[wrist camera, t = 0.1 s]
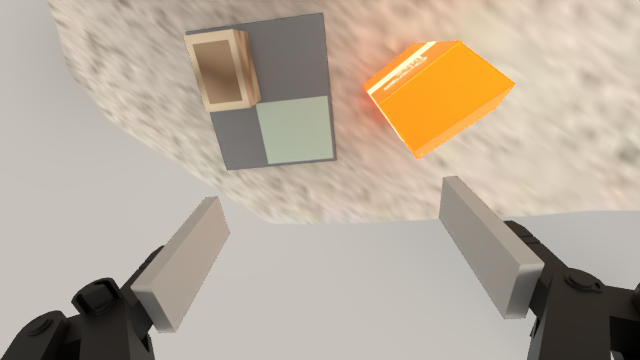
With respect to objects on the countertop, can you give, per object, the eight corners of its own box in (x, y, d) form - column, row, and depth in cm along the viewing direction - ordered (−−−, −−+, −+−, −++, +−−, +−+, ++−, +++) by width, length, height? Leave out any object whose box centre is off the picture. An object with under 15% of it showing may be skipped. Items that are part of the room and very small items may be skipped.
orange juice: (361, 85, 39) (387, 116, 21) (414, 42, 36) (496, 35, 18) (390, 125, 41) (436, 184, 23) (441, 88, 38) (538, 122, 21)
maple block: (205, 37, 36) (183, 35, 31) (247, 31, 36) (232, 29, 30) (223, 104, 40) (206, 112, 35) (261, 99, 40) (250, 107, 34)
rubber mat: (187, 32, 36) (185, 31, 36) (323, 13, 35) (322, 12, 34) (227, 169, 46) (226, 170, 45) (336, 159, 44) (336, 160, 43)
